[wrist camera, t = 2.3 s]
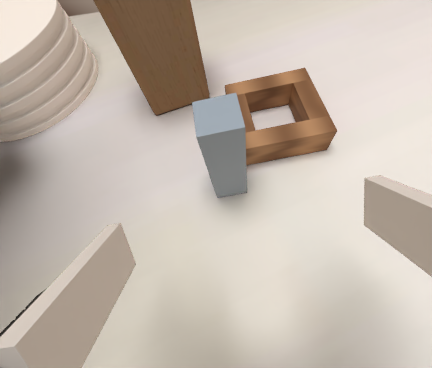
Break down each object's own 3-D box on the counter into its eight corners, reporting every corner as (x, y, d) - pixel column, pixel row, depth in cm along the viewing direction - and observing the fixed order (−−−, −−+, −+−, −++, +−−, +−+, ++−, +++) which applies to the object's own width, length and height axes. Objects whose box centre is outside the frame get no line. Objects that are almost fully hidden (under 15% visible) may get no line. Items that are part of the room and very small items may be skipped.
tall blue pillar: (217, 197, 29) (196, 137, 18) (213, 172, 31) (192, 102, 19) (246, 192, 29) (245, 127, 17) (241, 167, 31) (236, 92, 19)
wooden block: (196, 64, 42) (157, -102, 24) (210, 98, 38) (175, -75, 20) (147, 80, 42) (71, -75, 24) (155, 116, 37) (70, -41, 20)
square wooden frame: (241, 166, 31) (240, 150, 27) (227, 105, 36) (224, 85, 33) (326, 149, 30) (337, 130, 27) (299, 90, 36) (305, 67, 32)
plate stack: (58, 34, 55) (14, -25, 45) (124, 71, 44) (87, 6, 34) (-47, 103, 48) (-128, 53, 38) (2, 168, 37) (-91, 122, 27)
